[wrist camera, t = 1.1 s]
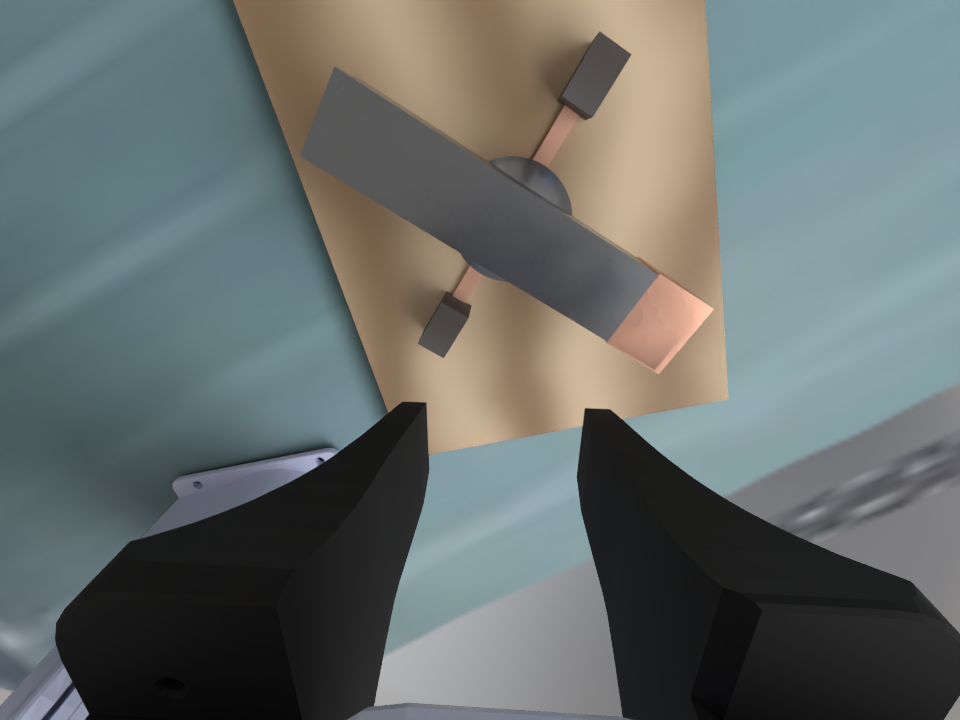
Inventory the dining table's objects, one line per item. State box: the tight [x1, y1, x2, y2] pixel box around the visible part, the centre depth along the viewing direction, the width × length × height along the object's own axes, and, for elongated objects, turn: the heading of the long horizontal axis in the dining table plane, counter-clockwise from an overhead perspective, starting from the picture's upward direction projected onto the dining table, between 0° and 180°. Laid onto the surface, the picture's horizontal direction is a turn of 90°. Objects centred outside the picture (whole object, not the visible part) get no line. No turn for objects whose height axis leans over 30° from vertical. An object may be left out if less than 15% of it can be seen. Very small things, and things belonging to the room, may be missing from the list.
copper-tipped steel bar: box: [300, 67, 714, 374], centre depth 15 cm, size 12×4×4 cm, turn 59°
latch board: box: [233, 0, 728, 455], centre depth 18 cm, size 15×20×3 cm
